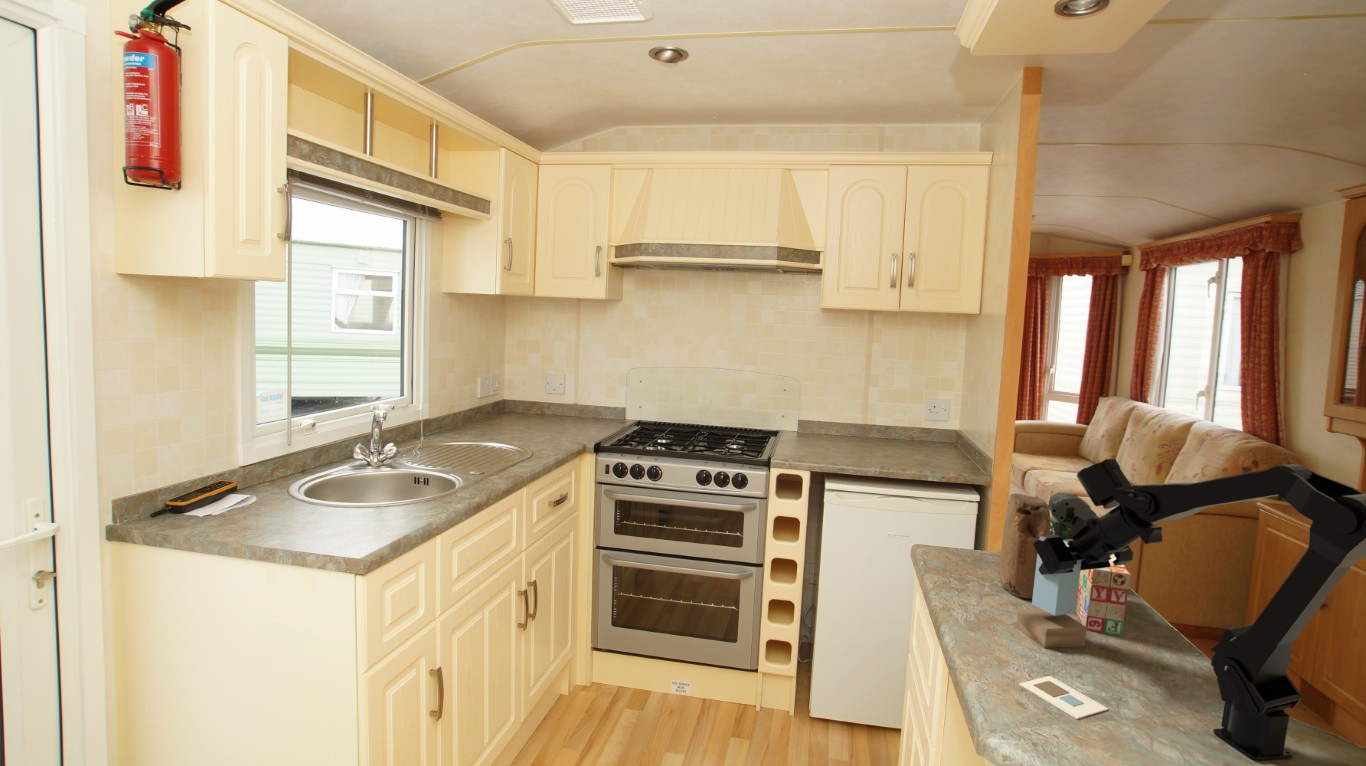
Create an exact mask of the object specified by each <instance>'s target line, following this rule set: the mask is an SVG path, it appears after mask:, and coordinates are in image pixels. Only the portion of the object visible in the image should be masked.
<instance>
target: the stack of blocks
mask: <svg viewBox="0 0 1366 766" xmlns="http://www.w3.org/2000/svg"><path fill="white" fill-rule="evenodd" d="M1110 557H1111V560H1109V562H1110V565H1111V566H1110V567H1107V568H1099V569H1088V570H1080V577H1079V585H1078V594H1077V602H1076V610H1075V613H1076V615H1077V618H1078V619H1079V622H1080V623H1081V624H1082V625H1084V626H1085V627H1087V631H1088V630H1089V632H1090V631H1091V632H1095V631H1096V633H1101V632H1104V633H1103V634H1108V633H1111V634H1110V635H1114V634H1117V635H1116V636H1120V635H1121V636H1122V635H1123V630H1124V629H1123V628H1124V623H1125V621H1124V619H1125V613H1126V607H1127V606H1126V605H1127V602H1128V596H1129V588H1130V581H1131V577H1132V576H1131V575H1132V574H1131V573H1130V571H1128V569H1127V568H1126V565H1117V566H1114V564H1113V561H1114V560H1116V557H1115V556H1114V554H1112V555H1111V556H1110Z"/></svg>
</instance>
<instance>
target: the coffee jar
mask: <svg viewBox="0 0 1366 766" xmlns="http://www.w3.org/2000/svg"><path fill="white" fill-rule="evenodd" d="M1073 498H1076V499H1079V500H1081V501H1082V502H1083V503H1085V504H1086V505H1087V506H1088V507H1089V508H1090V509H1091V510H1092V508H1091V506H1090V505H1089V504H1088V502H1087V501H1085V500H1084V499H1082V498H1081V497H1079V496H1078V495H1077V494H1074V493H1067V492H1066V493H1065V492H1056V493H1053V495H1051V496H1050V497H1049V498H1048V499H1049V500H1048V503H1047V505H1048V507H1049V510H1050V523H1051V524H1050V535H1053V534H1055V535H1058V536H1060V537H1061V538H1062V539H1063V540H1064V541H1066V542H1068V541H1073V539H1072V538H1070V537H1069V535H1068V533H1067V531H1069V530H1070V528H1068V527H1067V526H1066V525H1065V524H1064V523H1060V522H1059V521H1058V520H1057V519H1055V518H1054V517H1053V516H1052V514H1051V511H1052V505H1055V504H1056V503H1057V502H1058V501H1061V500H1062V499H1073Z"/></svg>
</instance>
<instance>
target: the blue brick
mask: <svg viewBox="0 0 1366 766" xmlns="http://www.w3.org/2000/svg"><path fill="white" fill-rule="evenodd" d="M1063 541H1064V540H1063ZM1064 543H1065V545H1066V546H1067V547H1069V545H1068V544H1067V542H1066V541H1064ZM1041 564H1042V560H1041V558H1040V556H1039V555H1038V553H1037V562H1036V571H1035V580H1034V589H1033V598H1031V605H1032V606H1034V607H1036V608H1037V609H1039V608H1040V609H1042V610H1044V611H1046V612H1048V613H1050V614H1052V615H1054V616H1056V615H1062V614H1067V615H1069V614H1074V613H1076V611H1075V610H1076V602H1077V594H1078V585H1079V577H1080V569H1081V560H1080V561H1077V564H1076V565H1074V568H1073V571H1074V572H1070V573H1060V574H1045V575H1041V574H1040V572H1039V567H1040V566H1041Z"/></svg>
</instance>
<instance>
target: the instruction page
mask: <svg viewBox="0 0 1366 766" xmlns="http://www.w3.org/2000/svg"><path fill="white" fill-rule="evenodd" d="M1019 686H1021V687H1022V688H1024V689H1025V690H1027V691H1029V692H1031V693H1032V694H1034V695H1036V696H1037V697H1039V698H1040V699H1043V700H1044V701H1045V702H1047V703H1049V704H1051V705H1052V706H1054V707H1055V708H1057V709H1058V710H1061V711H1062V712H1064V713H1065V714H1067V715H1069V716H1071V717H1072V718H1074V719H1075V720H1080V719H1082V718H1085V717H1088V716H1092V715H1096V714H1099V713H1102V712H1105V711H1109V708H1107V707H1106V706H1104V705H1102V704H1101V703H1099V702H1098V701H1095V700H1094V699H1092V698H1090V697H1088V696H1087V695H1085V694H1083V693H1081V692H1080V691H1078V690H1076V689H1074V688H1073V687H1071V686H1069V685H1067V684H1065V683H1063V682H1062V681H1060V680H1059V679H1057V678H1055V677H1053V676H1051V675H1048V676H1043V677H1039V678H1035V679H1032V680H1028V681H1023V682H1019Z"/></svg>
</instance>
